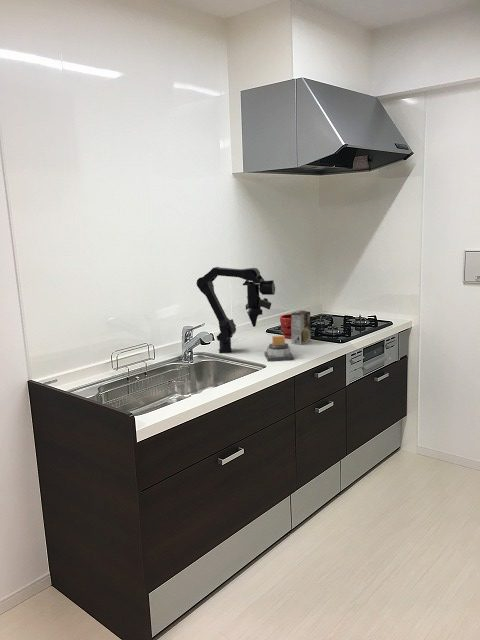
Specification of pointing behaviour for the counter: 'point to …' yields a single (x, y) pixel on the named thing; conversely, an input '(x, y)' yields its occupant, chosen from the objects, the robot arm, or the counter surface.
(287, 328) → the plant pot
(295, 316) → the coffee box
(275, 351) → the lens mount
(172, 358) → the counter surface
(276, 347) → the disc with orange block
